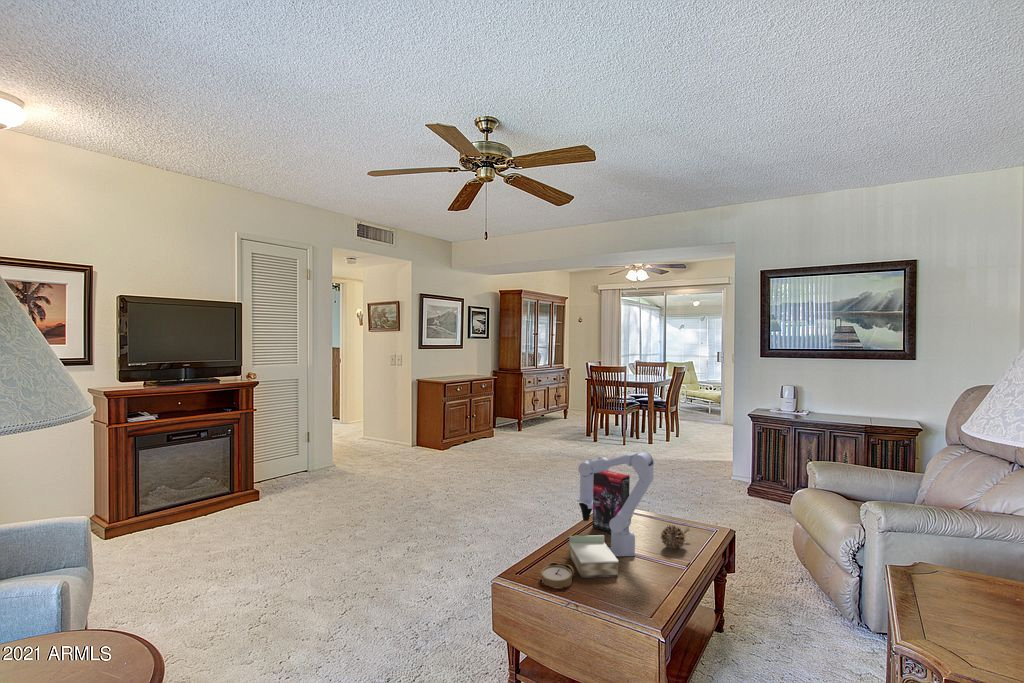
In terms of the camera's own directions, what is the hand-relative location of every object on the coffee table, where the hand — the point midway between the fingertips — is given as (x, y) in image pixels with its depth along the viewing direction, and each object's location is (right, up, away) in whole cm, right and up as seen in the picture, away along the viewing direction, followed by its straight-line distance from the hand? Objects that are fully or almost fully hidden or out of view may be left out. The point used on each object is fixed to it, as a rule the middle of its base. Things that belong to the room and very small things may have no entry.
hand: (585, 520), depth 222 cm
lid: (-1, -8, -23) cm, 24 cm away
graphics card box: (+14, -11, +17) cm, 25 cm away
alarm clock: (-15, -10, -34) cm, 39 cm away
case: (-1, -10, -23) cm, 25 cm away
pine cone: (+40, -12, +1) cm, 41 cm away
